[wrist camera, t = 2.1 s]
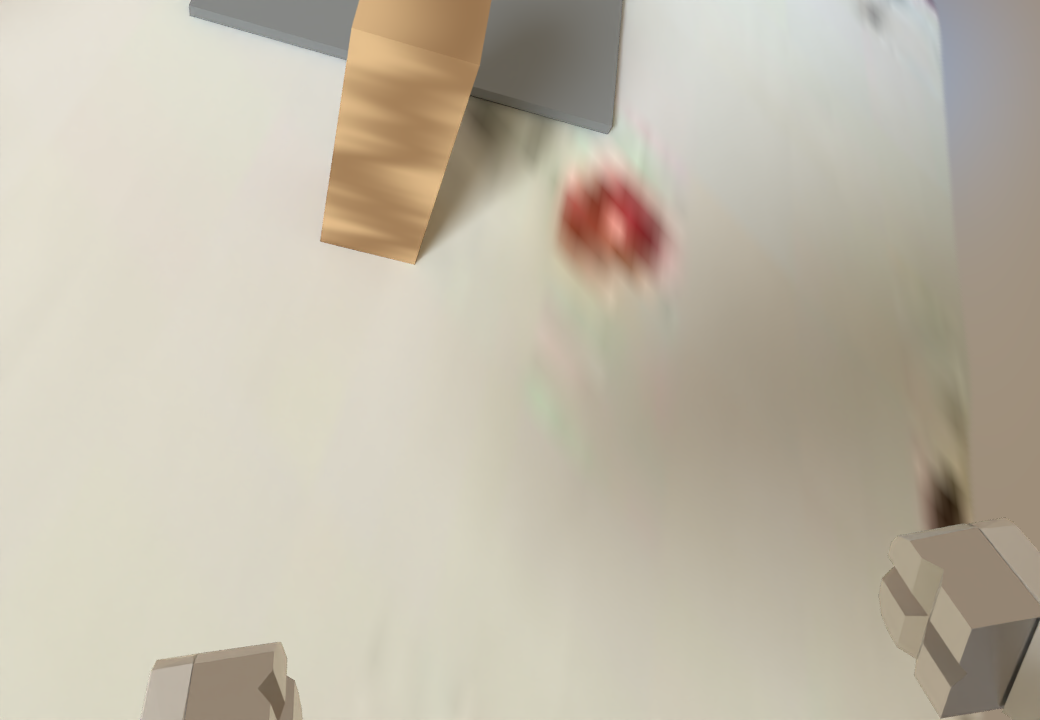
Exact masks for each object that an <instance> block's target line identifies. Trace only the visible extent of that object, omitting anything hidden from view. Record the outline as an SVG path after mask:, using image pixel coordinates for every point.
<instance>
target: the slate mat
mask: <svg viewBox="0 0 1040 720" xmlns="http://www.w3.org/2000/svg"><path fill="white" fill-rule="evenodd" d="M622 1H623V0H491V6H490V11H489V17H488V22H487V28H486V33H485V39H484V45H483V50H482V56H481V61H480V66H479V69H478V72H477V75H476V78H475V81H474V84H473V87H472V90H471V94H470V95H472V96H475V97H479V98H482V99H486V100H489V101H493V102H496V103H500V104H503V105H507V106H510V107H514V108H517V109H521V110H524V111H528V112H531V113H535V114H538V115H542V116H545V117H549V118H552V119H556V120H559V121H563V122H567V123H570V124H574V125H577V126H581V127H584V128H588V129H591V130H595V131H598V132H602V133H605V134H608V133H609V131H610V129H611V127H612V121H613V109H614V97H615V85H616V73H617V61H618V49H619V37H620V25H621V13H622ZM358 3H359V0H191V2H190V4H189V11H190V16H194V17H197V18H201V19H204V20H208V21H211V22H215V23H218V24H222V25H225V26H229V27H232V28H236V29H239V30H243V31H247V32H250V33H254V34H257V35H261V36H264V37H268V38H271V39H275V40H278V41H282V42H285V43H289V44H292V45H296V46H299V47H303V48H306V49H310V50H313V51H317V52H320V53H324V54H327V55H331V56H334V57H338V58H341V59H345V60H347V56H348V49H349V42H350V35H351V29H352V25H353V21H354V17H355V14H356V10H357V7H358Z"/></svg>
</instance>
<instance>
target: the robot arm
mask: <svg viewBox="0 0 1040 720" xmlns="http://www.w3.org/2000/svg"><path fill="white" fill-rule="evenodd" d="M888 557H889V559H890V560H891V562H892V563H893V565H894V567H893V568H892V569H891V570H890V571H889V572H888V573H887V574H886V575H885V576H884V577H883V578H882V580H881V585H880V591H879V602H880V609H881V616H882V618H883V621H884V623H885V626H886V628H887V631H888V633H889V634H890V636H891V638H892V640H893V641H894V643H895V645H896V646H897V647H898V648H899V649H901V650H903V651H904V652H906V653H907V654H909V655H911V656H912V657H914V658H916V665H915V671H914V676H915V678H916V679H917V681H918V683H919V684H920V686H921V688H922V689H923V691H924V693H925V694H926V696H927V697H928V699H929V701H930V702H931V704H932V706H933V707H934V709H935V710H936V712H937V714H938V715H939V717H940V718H946V717H953V716H959V715H965V714H971V713H978V712H984V711H990V710H995V709H1002V708H1003V711H1002V712H1003V713H1004V714H1005V715H1007V716H1008V717H1010V718H1011V719H1012V720H1040V552H1039V551H1038V549H1037V548H1036V547H1035V546H1034V545H1033V544H1032V542H1030V540H1029V539H1028V538H1027V537H1026V536H1025V534H1024V533H1023V532H1022V531H1021V530H1020V528H1019V527H1018V526H1017V525H1016V524H1015V523H1014V522H1012V521H1010V520H1009V519H1007V518H999V519H993V520H987V521H981V522H975V523H969V524H959V525H953V526H948V527H943V528H937V529H932V530H926V531H921V532H915V533H910V534H905V535H899V536H897V537H896V538H895V539H894V540H893V541H892V542H891V545H890V548H889V552H888ZM140 720H302V708H301V703H300V698H299V692H298V689H297V686H296V683H295V680H293V679H291V678H290V677H288V676H287V656H286V654H285V651H284V648H283V646H282V643H281V642H275V643H268V644H261V645H254V646H247V647H240V648H233V649H226V650H219V651H212V652H205V653H198V654H192V655H186V656H180V657H173V658H167V659H161V660H157V661H156V663H155V664H154V666H153V668H152V670H151V672H150V674H149V679H148V684H147V689H146V694H145V699H144V704H143V709H142V713H141V718H140Z"/></svg>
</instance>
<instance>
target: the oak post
mask: <svg viewBox="0 0 1040 720" xmlns="http://www.w3.org/2000/svg"><path fill="white" fill-rule="evenodd" d="M490 6H491V0H359V3H358V7H357V10H356V14H355V17H354V21H353V25H352V29H351V35H350V42H349V49H348V56H347V63H346V69H345V76H344V83H343V90H342V97H341V103H340V110H339V117H338V124H337V131H336V137H335V144H334V151H333V158H332V165H331V171H330V178H329V185H328V192H327V199H326V206H325V212H324V219H323V226H322V233H321V240H320V241H321V242H325V243H329V244H333V245H337V246H341V247H345V248H349V249H353V250H357V251H361V252H366V253H370V254H374V255H378V256H382V257H386V258H390V259H394V260H398V261H402V262H406V263H410V264H414V265H415V262H416V259H417V255H418V252H419V249H420V246H421V243H422V240H423V237H424V234H425V231H426V228H427V225H428V222H429V219H430V216H431V213H432V210H433V207H434V204H435V200H436V197H437V194H438V191H439V188H440V185H441V182H442V179H443V176H444V173H445V170H446V167H447V164H448V161H449V158H450V155H451V152H452V149H453V145H454V142H455V139H456V136H457V133H458V130H459V127H460V124H461V121H462V118H463V115H464V112H465V109H466V106H467V103H468V100H469V97H470V94H471V90H472V87H473V84H474V81H475V78H476V75H477V72H478V69H479V66H480V61H481V56H482V50H483V45H484V39H485V33H486V28H487V22H488V17H489V11H490Z"/></svg>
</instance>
